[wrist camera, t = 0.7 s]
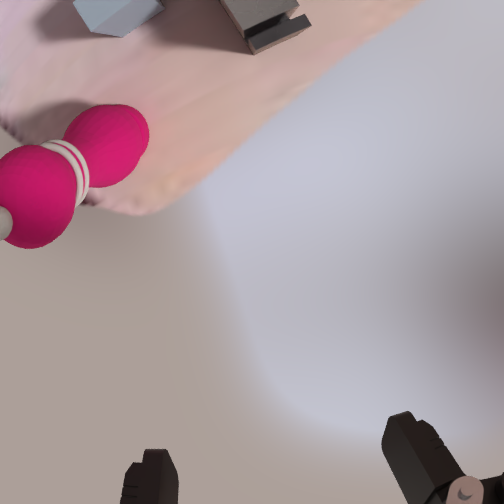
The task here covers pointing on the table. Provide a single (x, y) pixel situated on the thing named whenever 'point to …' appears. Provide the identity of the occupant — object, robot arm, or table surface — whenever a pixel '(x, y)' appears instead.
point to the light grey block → (116, 14)
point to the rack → (265, 21)
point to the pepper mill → (67, 172)
